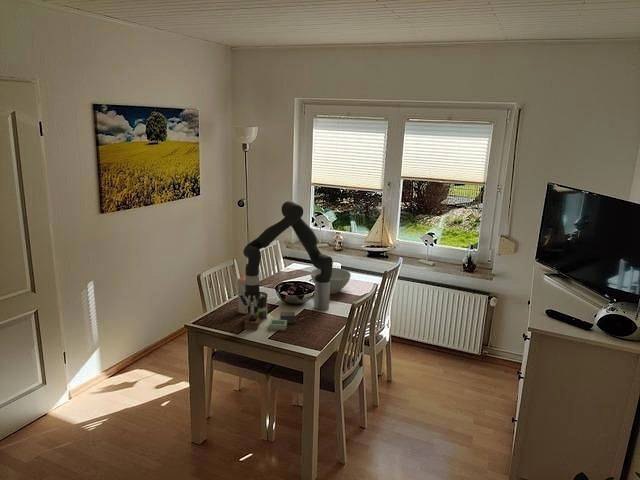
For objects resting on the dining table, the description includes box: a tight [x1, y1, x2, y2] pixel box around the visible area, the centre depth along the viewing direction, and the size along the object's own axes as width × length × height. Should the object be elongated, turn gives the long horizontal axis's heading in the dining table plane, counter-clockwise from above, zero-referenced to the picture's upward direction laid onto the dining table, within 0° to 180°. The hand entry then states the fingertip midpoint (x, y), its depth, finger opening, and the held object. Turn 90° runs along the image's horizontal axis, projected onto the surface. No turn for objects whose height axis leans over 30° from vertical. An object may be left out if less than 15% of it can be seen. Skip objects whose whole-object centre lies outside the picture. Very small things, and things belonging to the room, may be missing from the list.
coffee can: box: [248, 291, 269, 322], centre depth 263 cm, size 10×10×14 cm
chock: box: [279, 310, 296, 324], centre depth 262 cm, size 6×8×4 cm
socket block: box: [244, 316, 261, 331], centre depth 253 cm, size 7×7×4 cm
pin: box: [250, 303, 255, 320], centre depth 251 cm, size 3×3×9 cm
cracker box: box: [237, 274, 249, 315], centre depth 273 cm, size 14×6×21 cm, turn 155°
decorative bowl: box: [310, 267, 351, 295], centre depth 311 cm, size 27×27×12 cm
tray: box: [268, 318, 288, 331], centre depth 253 cm, size 7×9×3 cm
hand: (252, 312), depth 251 cm, fingers closed on pin, 2 cm apart
